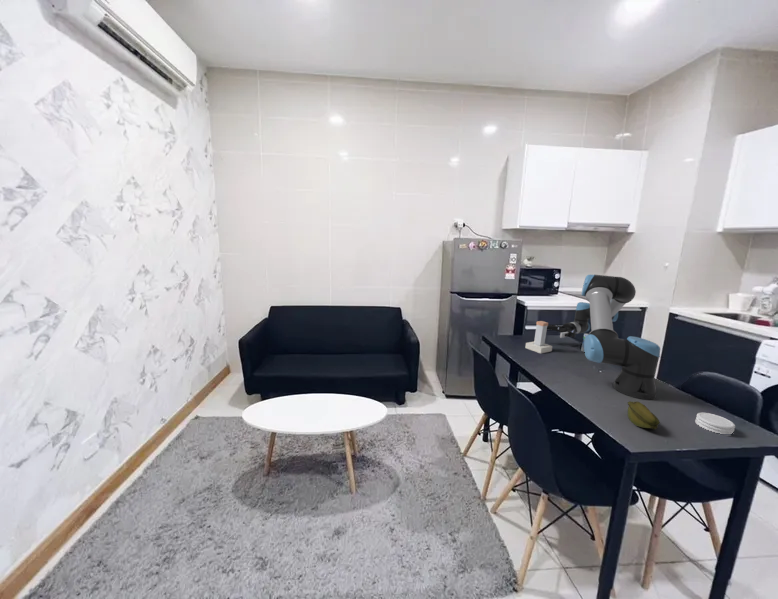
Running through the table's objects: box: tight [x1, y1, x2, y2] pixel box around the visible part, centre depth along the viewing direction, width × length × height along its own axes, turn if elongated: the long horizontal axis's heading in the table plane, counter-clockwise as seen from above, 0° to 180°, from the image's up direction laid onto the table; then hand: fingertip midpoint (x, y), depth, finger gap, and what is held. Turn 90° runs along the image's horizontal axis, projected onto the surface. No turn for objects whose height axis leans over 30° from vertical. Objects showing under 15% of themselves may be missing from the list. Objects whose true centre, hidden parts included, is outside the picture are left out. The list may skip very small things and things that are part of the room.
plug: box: [533, 320, 549, 346], centre depth 192 cm, size 4×4×16 cm
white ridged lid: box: [694, 412, 736, 435], centre depth 120 cm, size 10×10×4 cm
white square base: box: [525, 341, 553, 354], centre depth 194 cm, size 10×10×4 cm
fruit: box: [627, 400, 661, 430], centre depth 120 cm, size 11×12×7 cm
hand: (549, 332), depth 197 cm, fingers open, 13 cm apart
